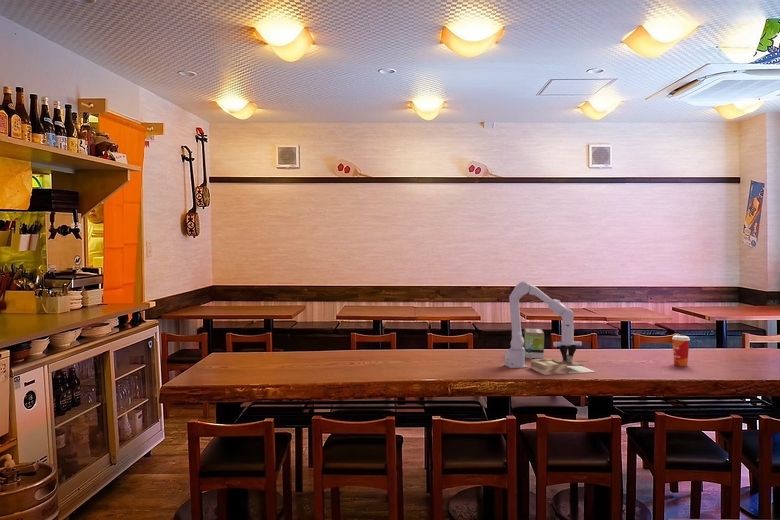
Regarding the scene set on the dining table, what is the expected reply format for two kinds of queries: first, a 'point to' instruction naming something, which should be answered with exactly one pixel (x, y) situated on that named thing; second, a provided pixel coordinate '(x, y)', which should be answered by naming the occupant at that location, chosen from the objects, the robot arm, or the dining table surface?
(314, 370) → the dining table surface
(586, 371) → the mat
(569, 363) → the lid
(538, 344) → the tea box
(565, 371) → the case
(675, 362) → the coffee cup
